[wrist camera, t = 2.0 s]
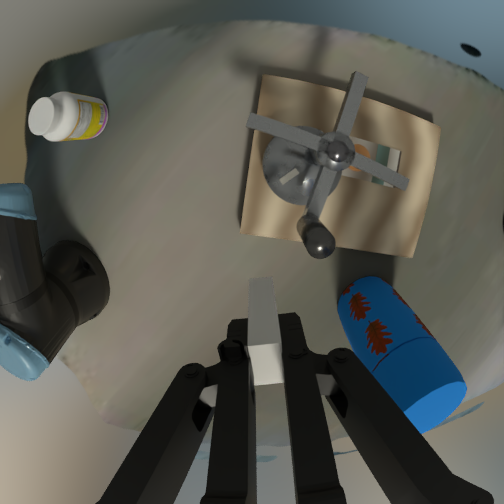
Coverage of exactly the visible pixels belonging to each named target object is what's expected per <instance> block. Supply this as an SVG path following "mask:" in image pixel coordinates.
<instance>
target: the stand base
mask: <svg viewBox="0 0 504 504" xmlns="http://www.w3.org/2000/svg"><path fill="white" fill-rule="evenodd" d="M345 93H346V92H345V91H342V90H338V89H334V88H330V87H326V86H322V85H318V84H314V83H309V82H304V81H300V80H295V79H289V78H284V77H278V76H272V75H265V74H263V77H262V83H261V90H260V96H259V103H258V109H257V114H258V115H261V116H264V117H267V118H270V119H273V120H276V121H279V122H282V123H285V124H288V125H291V126H293V127H295V126H308V127H313V128H316V129H318V130H321V131H322V132H324V133H327V132H333V129H334V126H335V123H336V120H337V117H338V114H339V111H340V108H341V105H342V102H343V99H344V96H345ZM440 130H441V127H439V126H437V125H435V124H433V123H431V122H428V121H426V120H424V119H422V118H419V117H417V116H415V115H412V114H410V113H407V112H405V111H402V110H400V109H397V108H394V107H392V106H389V105H386V104H383V103H380V102H378V101H375V100H372V99H369V98H365V97H362V100H361V103H360V106H359V109H358V112H357V115H356V118H355V121H354V124H353V127H352V130H351V133H350V136H349V138H350V139H351V140H352V142H353V144H360V145H362V146H364V147H365V148H366V149H367V150H368V151H369V153H370V159H372V160H374V161H376V162H378V163H380V164H382V165H384V166H386V167H388V168H390V169H391V170H393V171H395V172H397V173H399V174H401V175H403V176H405V177H406V178H408V179H410V180H409V183H408V186H407V189H406V191H403V190H400V189H398V188H396V187H394V186H393V185H391V184H389V183H387V182H384V181H382V180H380V179H378V178H376V177H374V176H372V175H370V174H368V173H366V172H363V171H353V170H351V169H349V168H346V169H344V170H342V174H341V178H340V181H339V183H338V185H337V187H336V188H335V190H334V191H333V192H332V193H331V194H330V195H329V196H328V197H327V199H326V202H325V205H324V207H323V210H322V212H321V215H320V217H319V220H320V221H321V222H322V223H323V224H324V226H325V227H326V228H327V229H328V230H329V231H330V232H331V234H332V235H333V236H334V238H335V241H336V247H343V248H349V249H356V250H363V251H369V252H376V253H382V254H389V255H395V256H401V257H408V258H412V257H413V254H414V251H415V247H416V244H417V241H418V237H419V234H420V230H421V227H422V223H423V219H424V215H425V211H426V207H427V203H428V199H429V195H430V190H431V185H432V180H433V175H434V170H435V164H436V158H437V152H438V145H439V138H440ZM273 137H274V136H272V135H269V134H266V133H263V132H260V131H257V130H254V136H253V143H252V150H251V157H250V164H249V171H248V178H247V185H246V192H245V199H244V206H243V214H242V221H241V228H240V233H242V234H249V235H257V236H264V237H272V238H279V239H287V240H294V241H301V242H303V241H302V239H301V237H300V236H299V234H298V232H297V228H296V226H297V222H298V220H299V219H300V218H301V217H302V214H303V212H304V209H305V207H306V205H295V204H291V203H288V202H286V201H284V200H282V199H281V198H279V197H278V196H277V195H276V194H275V193H274V192H273V191H272V190H271V189H270V187H269V185H268V184H267V182H266V180H265V177H264V174H263V169H262V159H263V154H264V151H265V149H266V147H267V145H268V143H269V142H270V141H271V139H272V138H273Z"/></svg>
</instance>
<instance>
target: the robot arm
mask: <svg viewBox="0 0 504 504" xmlns="http://www.w3.org/2000/svg"><path fill="white" fill-rule="evenodd" d="M36 220H37V215H35V210H34V204H33V196H32V192H31V190H30V188H29V187H28V186H27V185H25V184H23V183H7V184H0V365H1V366H2V367H3V368H4V369H6V370H7V371H8V372H10V373H11V374H13V375H15V376H16V377H18V378H20V379H23V380H26V381H32V380H35V379H37V378H38V377H39V376H40V375H41V373H42V372H43V371H44V370H45V369H46V368H48V367H49V365H50V363H51V362H52V360H53V359H54V357H55V356H56V355H57V353H58V352H59V350H60V349H61V347H62V346H63V345H64V343H65V342H66V340H67V339H68V338H69V336H70V335H71V334H72V332H73V331H74V330H75V328H76V327H77V326H79V325H81V324H83V323H85V322H87V321H88V320H91V319H93V318H95V317H96V316H98V315H99V314H100V313H101V311H102V310H103V309H104V308H105V306H106V305H107V303H108V300H109V295H110V287H109V281H108V277H107V274H106V272H105V270H104V268H103V266H102V264H101V263H100V261H99V260H98V258H97V257H96V256H95V255H94V254H93V253H92V252H91V251H90V250H89V249H88V248H86V247H85V246H83V245H81V244H79V243H77V242H74V241H61V242H59V243H57V244H55V245H54V246H52V247H51V248H49V249H48V250H47V251H46V253H45V254H44V256H43V258H42V254H41V249H40V244H39V237H38V230H37V222H36ZM227 332H228V333H227V339H226V340H224V341H222V342H221V343H220V344H219V345H218V348H217V349H218V352H219V356H220V360H221V361H220V362H219V363H217V364H216V365H213V366H210V367H206V368H205V367H204V366H203V365H201V364H198V363H190V364H187V365H185V366H183V367H182V368H181V369H180V370H179V371H178V373H177V375H176V376H175V378H174V380H173V381H172V383H171V384H170V386H169V388H168V389H167V391H166V393H165V394H164V396H163V398H162V399H161V401H160V402H159V404H158V406H157V407H156V409H155V411H154V412H153V414H152V415H151V417H150V419H149V420H148V422H147V424H146V425H145V427H144V429H143V430H142V432H141V433H140V435H139V437H138V438H137V440H136V442H135V443H134V445H133V447H132V448H131V450H130V452H129V453H128V455H127V456H126V458H125V460H124V461H123V463H122V464H121V466H120V468H119V469H118V471H117V473H116V474H115V476H114V478H113V479H112V481H111V483H110V484H109V486H108V487H107V489H106V491H105V492H104V494H103V496H102V497H101V499H100V500H99V501H98V502H97V503H96V504H173V503H174V501H175V499H176V497H177V495H178V493H179V491H180V489H181V487H182V484H183V482H184V480H185V478H186V476H187V473H188V471H189V469H190V467H191V465H192V462H193V460H194V458H195V456H196V454H197V451H198V449H199V447H200V445H201V442H202V440H203V438H204V436H205V433H206V431H207V429H208V427H209V424H210V422H211V420H212V417H213V415H214V421H213V430H212V439H211V448H210V457H209V467H208V476H207V487H206V493H205V495H204V496H203V497H202V499H201V501H200V504H257V485H256V484H257V481H256V480H257V478H256V477H257V476H256V404H255V389H254V384H255V385H264V384H274V383H284V387H285V400H286V406H287V416H288V425H289V435H290V445H291V455H292V464H293V475H294V486H295V498H296V504H347V503H346V498H345V493H344V490H343V488H342V487H341V485H340V483H339V479H338V474H337V469H336V463H335V459H334V454H333V449H332V444H331V439H330V435H329V430H328V425H327V421H326V416H325V412H324V407H323V403H322V398H321V395H325V397H326V399H327V401H328V402H329V404H330V406H331V407H332V409H333V411H334V412H335V414H336V415H337V417H338V419H339V420H340V422H341V424H342V425H343V427H344V429H345V430H346V432H347V433H348V435H349V437H350V438H351V440H352V442H353V443H354V445H355V446H356V448H357V450H358V451H359V453H360V455H361V456H362V458H363V459H364V461H365V462H366V464H367V466H368V467H369V469H370V470H371V472H372V474H373V475H374V477H375V479H376V480H377V482H378V483H379V485H380V487H381V488H382V490H383V491H384V493H385V495H386V496H387V498H388V499H389V501H390V503H391V504H494V499H493V497H492V494H490V493H489V492H488V491H486V490H484V489H482V488H480V487H477V486H476V485H473V484H472V483H470V482H467V481H465V480H464V479H462V478H460V477H458V476H456V475H454V474H452V472H451V471H450V470H449V469H448V467H447V466H446V465H445V464H444V462H443V461H442V460H441V458H440V457H439V456H438V455H437V454H436V452H435V451H434V450H433V448H432V447H431V446H430V445H429V444H428V442H427V441H426V440H425V438H424V437H423V436H422V435H421V433H420V432H419V431H418V430H417V429H416V427H415V426H414V425H413V424H412V422H411V421H410V420H409V419H408V417H407V416H406V415H405V414H404V413H403V411H402V410H401V409H400V408H399V406H398V405H397V404H396V403H395V402H394V400H393V399H392V398H391V397H390V395H389V394H388V393H387V392H386V391H385V389H384V388H383V387H382V386H381V385H380V383H379V382H378V381H377V380H376V379H375V377H374V376H373V375H372V374H371V372H370V371H369V370H368V369H367V368H366V366H365V365H364V364H363V363H362V362H361V360H360V359H359V358H358V357H357V356H356V354H355V353H354V352H353V351H351V350H350V349H347V348H336V349H333V350H332V351H330V352H329V353H328V355H321V354H316V353H314V352H312V351H310V350H309V348H308V347H307V344H306V340H305V336H304V332H303V328H302V324H301V320H300V317H299V316H298V315H297V314H296V313H295V312H294V313H286V314H278V313H277V306H276V299H275V292H274V285H273V278H272V276H271V277H262V278H253V279H249V301H248V318H245V319H234V320H232V321H231V322H230V324H229V325H228V331H227Z"/></svg>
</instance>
